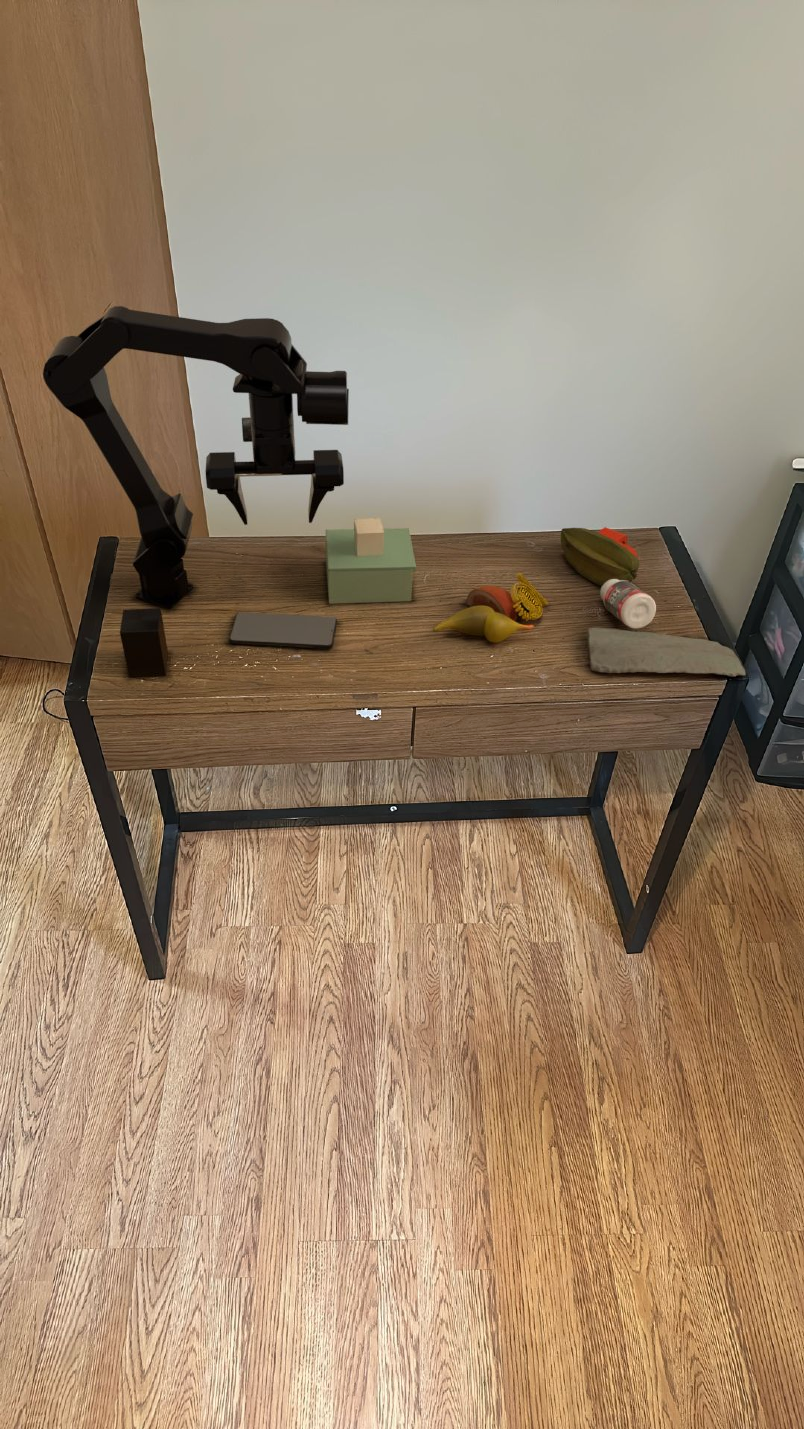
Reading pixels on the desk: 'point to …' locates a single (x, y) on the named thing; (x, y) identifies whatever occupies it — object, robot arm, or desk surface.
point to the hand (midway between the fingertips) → (278, 522)
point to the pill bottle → (628, 603)
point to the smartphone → (283, 630)
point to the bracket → (617, 538)
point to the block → (368, 537)
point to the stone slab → (658, 653)
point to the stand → (144, 642)
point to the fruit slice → (493, 600)
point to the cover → (393, 558)
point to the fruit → (597, 556)
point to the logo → (527, 599)
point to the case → (369, 586)
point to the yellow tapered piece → (482, 623)
